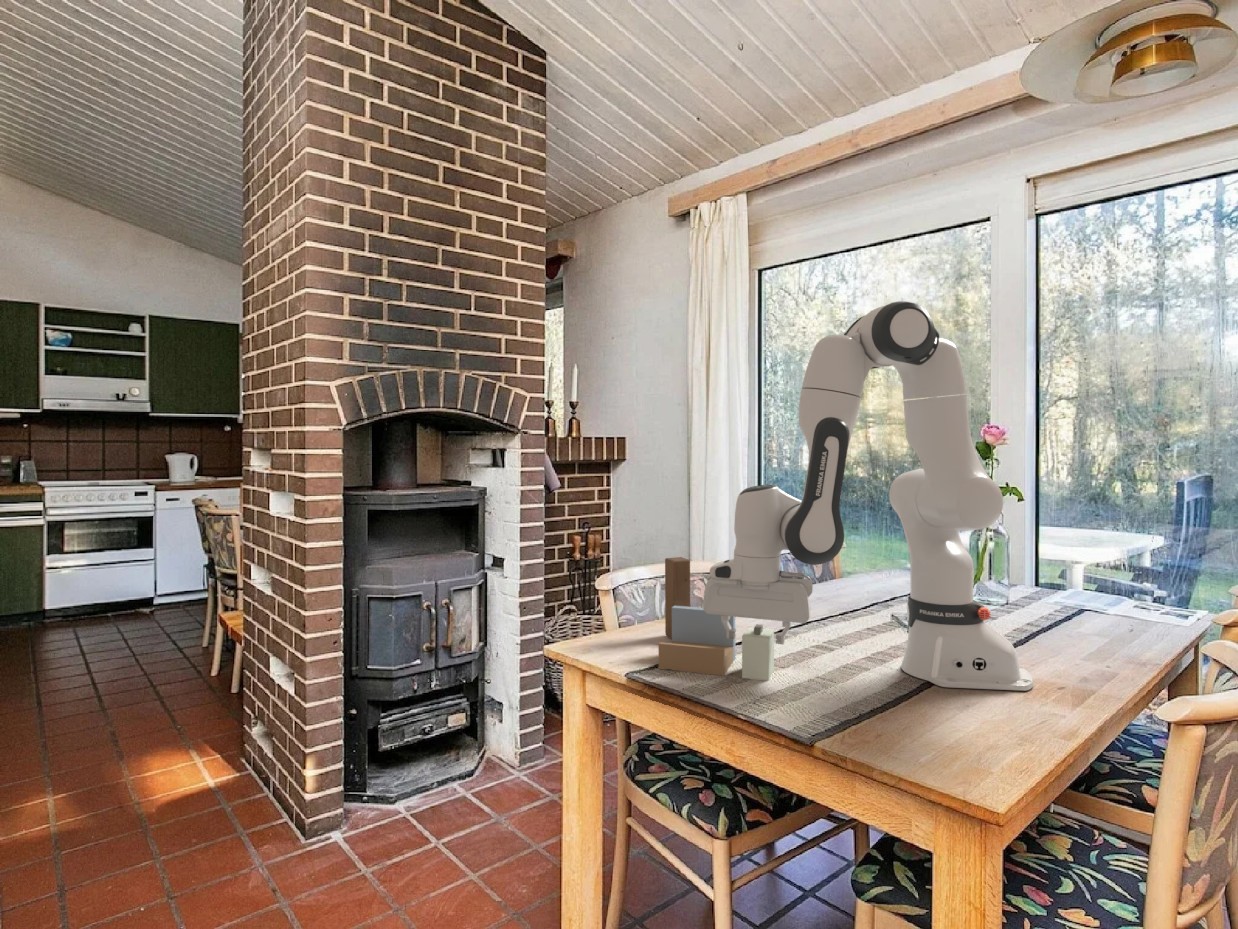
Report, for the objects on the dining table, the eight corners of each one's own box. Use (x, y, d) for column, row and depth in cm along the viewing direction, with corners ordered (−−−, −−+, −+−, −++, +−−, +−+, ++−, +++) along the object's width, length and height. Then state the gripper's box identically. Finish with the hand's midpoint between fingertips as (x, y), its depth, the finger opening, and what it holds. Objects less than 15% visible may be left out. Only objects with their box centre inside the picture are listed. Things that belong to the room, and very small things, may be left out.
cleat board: (735, 658, 148) (735, 610, 148) (723, 675, 138) (723, 623, 137) (674, 652, 153) (674, 605, 152) (658, 668, 142) (658, 618, 142)
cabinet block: (774, 669, 141) (774, 623, 141) (768, 681, 135) (768, 632, 134) (748, 667, 143) (748, 621, 143) (742, 678, 136) (742, 629, 136)
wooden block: (700, 643, 159) (700, 562, 159) (682, 646, 158) (681, 564, 157) (682, 633, 168) (682, 556, 167) (664, 635, 166) (664, 558, 165)
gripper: (814, 570, 137) (812, 642, 138) (708, 563, 144) (707, 631, 145) (811, 576, 132) (809, 651, 132) (701, 568, 138) (700, 639, 139)
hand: (755, 641), depth 138 cm, fingers open, 8 cm apart
